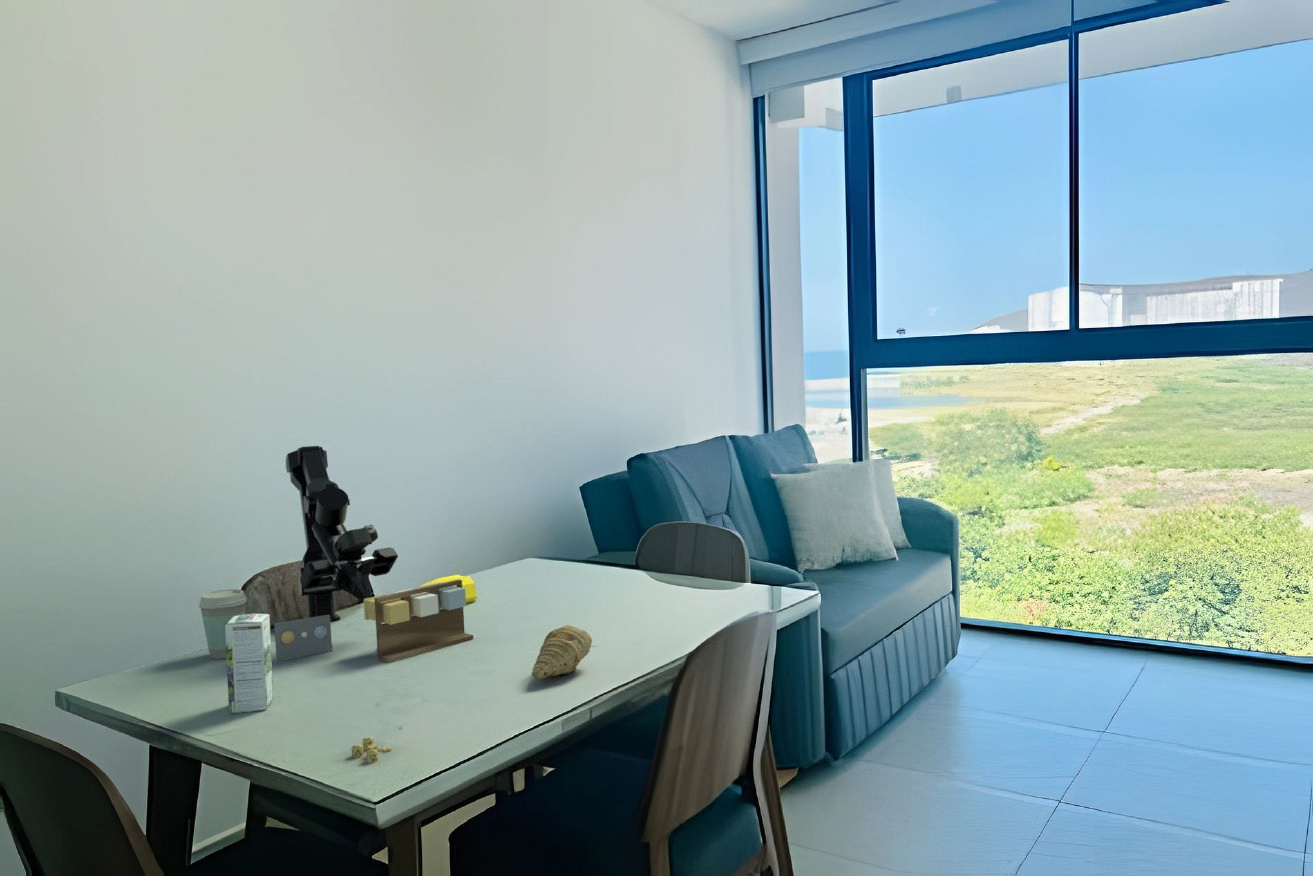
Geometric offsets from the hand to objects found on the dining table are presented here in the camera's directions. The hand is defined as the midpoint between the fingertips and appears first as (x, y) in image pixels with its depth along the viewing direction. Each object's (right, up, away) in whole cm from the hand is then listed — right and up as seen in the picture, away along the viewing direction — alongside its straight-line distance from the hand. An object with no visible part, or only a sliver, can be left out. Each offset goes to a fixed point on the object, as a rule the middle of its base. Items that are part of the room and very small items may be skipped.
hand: (368, 601), depth 187 cm
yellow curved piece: (+8, -7, +34) cm, 36 cm away
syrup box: (-10, -12, -31) cm, 34 cm away
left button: (+5, -3, -4) cm, 7 cm away
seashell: (+39, -10, -21) cm, 45 cm away
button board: (+12, -9, 0) cm, 15 cm away
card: (-11, -10, -2) cm, 15 cm away
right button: (+14, -2, +6) cm, 15 cm away
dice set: (+16, -13, -52) cm, 56 cm away
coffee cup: (-28, -11, 0) cm, 29 cm away
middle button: (+9, -2, +1) cm, 10 cm away
